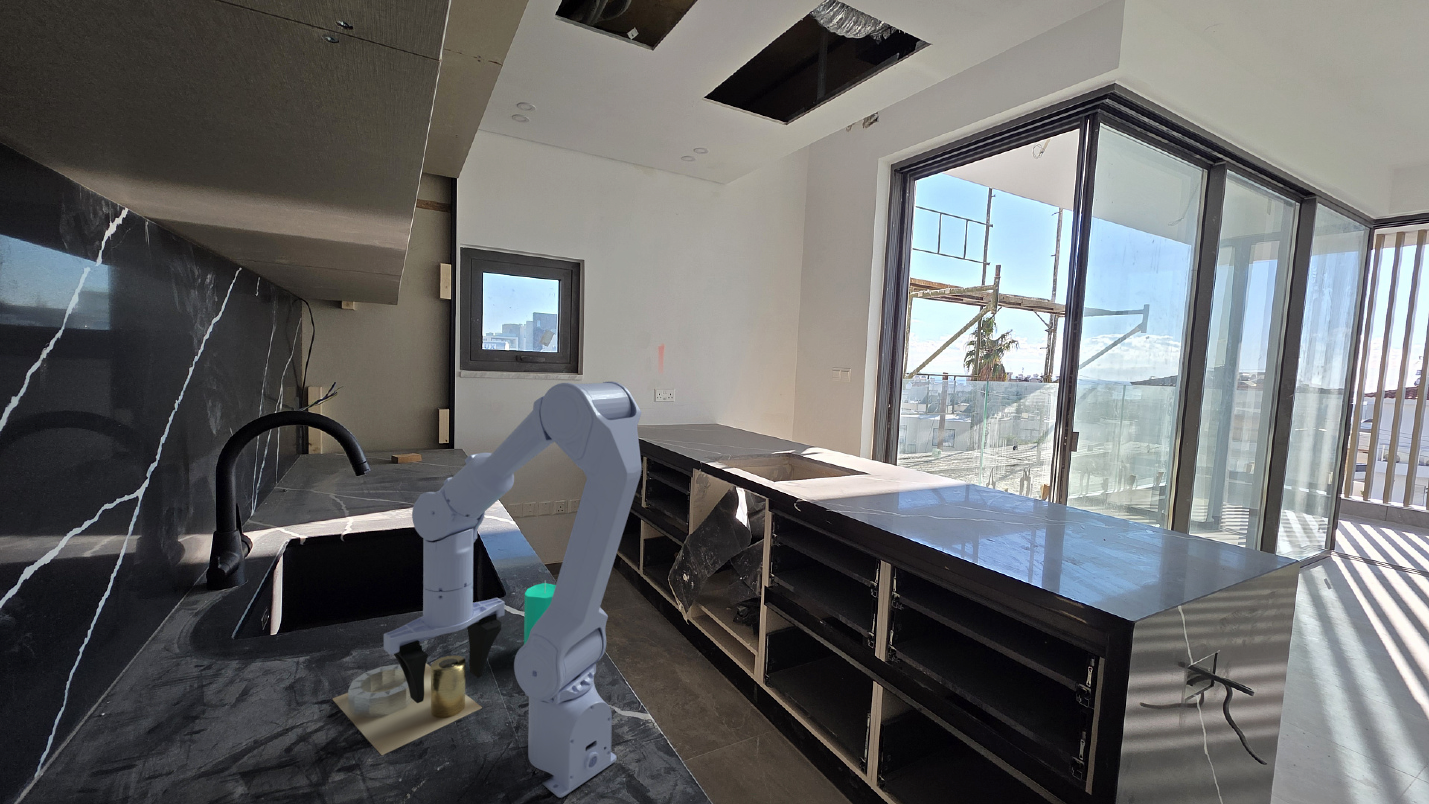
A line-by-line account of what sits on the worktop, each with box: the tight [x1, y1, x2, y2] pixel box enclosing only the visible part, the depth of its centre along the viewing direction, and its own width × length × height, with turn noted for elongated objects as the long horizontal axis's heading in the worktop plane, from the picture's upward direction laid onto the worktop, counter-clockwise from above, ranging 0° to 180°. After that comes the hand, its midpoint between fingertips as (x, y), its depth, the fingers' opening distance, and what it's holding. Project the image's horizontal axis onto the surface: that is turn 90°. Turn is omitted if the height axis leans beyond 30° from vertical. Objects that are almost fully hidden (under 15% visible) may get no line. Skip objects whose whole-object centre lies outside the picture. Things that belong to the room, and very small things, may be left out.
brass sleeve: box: [430, 655, 466, 718], centre depth 73 cm, size 4×4×6 cm
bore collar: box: [347, 663, 414, 718], centre depth 74 cm, size 8×8×2 cm
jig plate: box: [332, 662, 483, 756], centre depth 74 cm, size 16×12×1 cm
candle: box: [523, 580, 556, 645], centre depth 88 cm, size 6×6×12 cm
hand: (447, 686), depth 73 cm, fingers open, 7 cm apart
